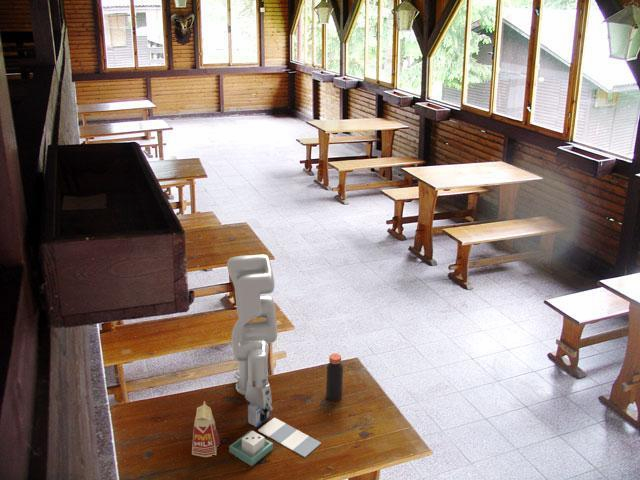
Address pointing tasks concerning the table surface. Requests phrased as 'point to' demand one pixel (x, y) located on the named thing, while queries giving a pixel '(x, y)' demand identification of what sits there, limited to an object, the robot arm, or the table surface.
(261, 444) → the die
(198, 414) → the milk carton
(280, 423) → the track
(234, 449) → the dice tray
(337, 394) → the bottle
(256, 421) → the medicine box
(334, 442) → the table surface
